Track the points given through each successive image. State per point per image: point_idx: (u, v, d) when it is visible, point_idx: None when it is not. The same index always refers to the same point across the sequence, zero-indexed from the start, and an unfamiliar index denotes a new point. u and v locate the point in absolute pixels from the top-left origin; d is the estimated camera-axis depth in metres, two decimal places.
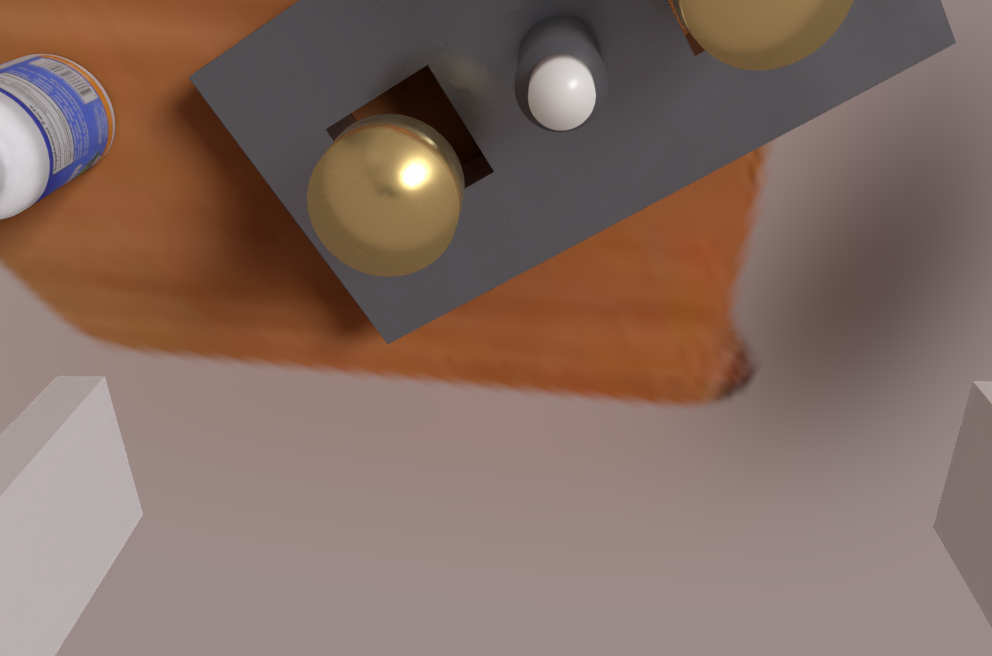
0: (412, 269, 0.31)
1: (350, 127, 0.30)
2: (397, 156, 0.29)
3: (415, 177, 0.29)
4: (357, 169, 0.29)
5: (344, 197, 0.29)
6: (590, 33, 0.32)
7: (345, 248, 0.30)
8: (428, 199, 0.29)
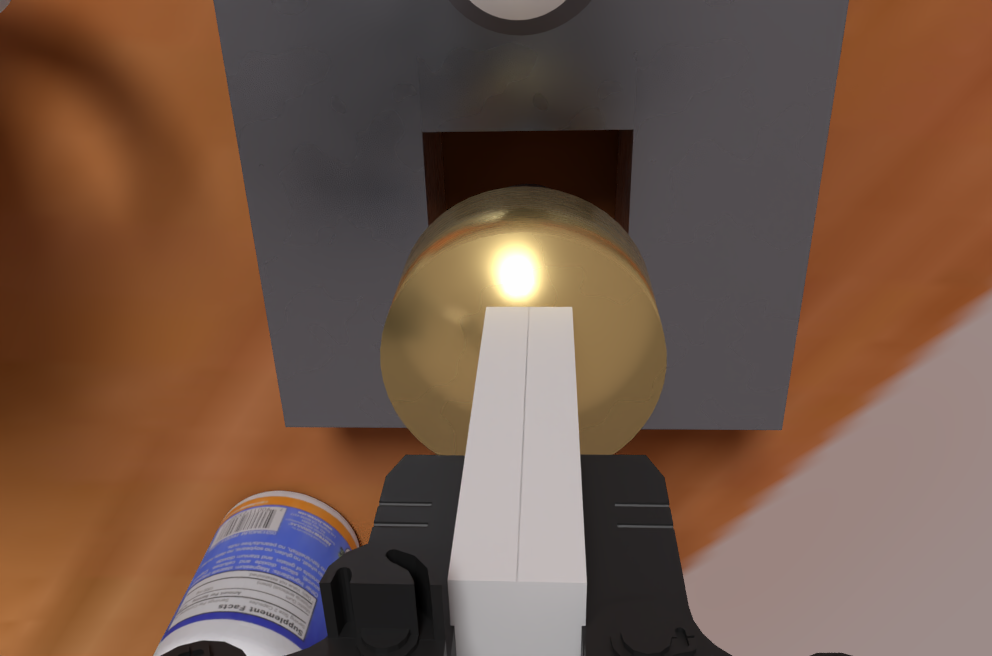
0: (655, 386, 0.16)
1: None
2: (451, 295, 0.15)
3: (503, 288, 0.15)
4: (438, 364, 0.16)
5: None
6: None
7: None
8: (553, 291, 0.15)
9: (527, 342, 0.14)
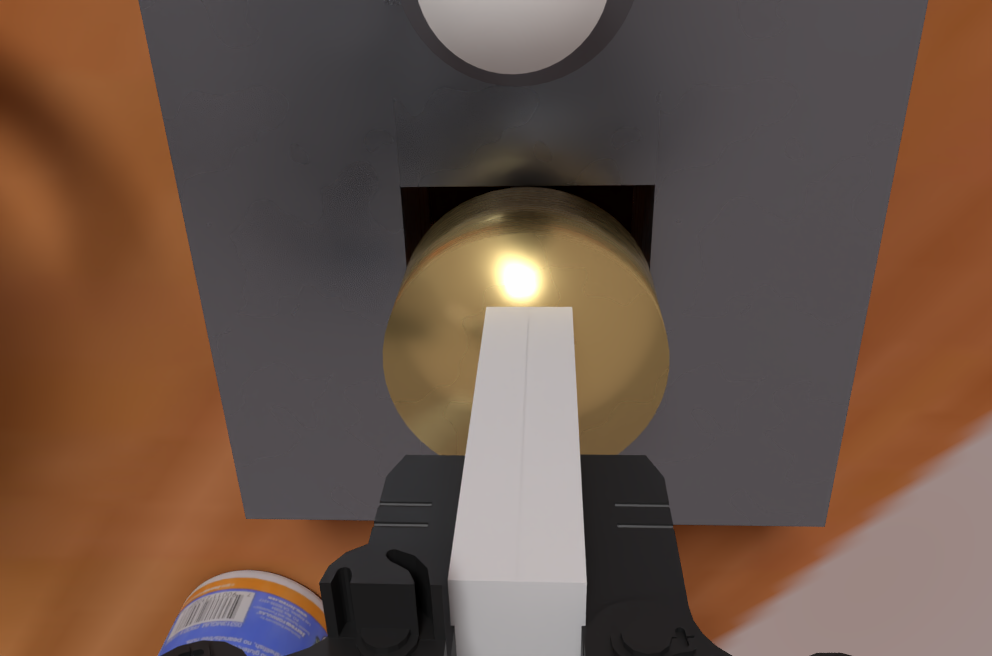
0: (658, 387, 0.16)
1: None
2: (454, 295, 0.15)
3: (505, 289, 0.15)
4: (441, 365, 0.16)
5: None
6: None
7: None
8: (556, 292, 0.15)
9: (527, 342, 0.14)
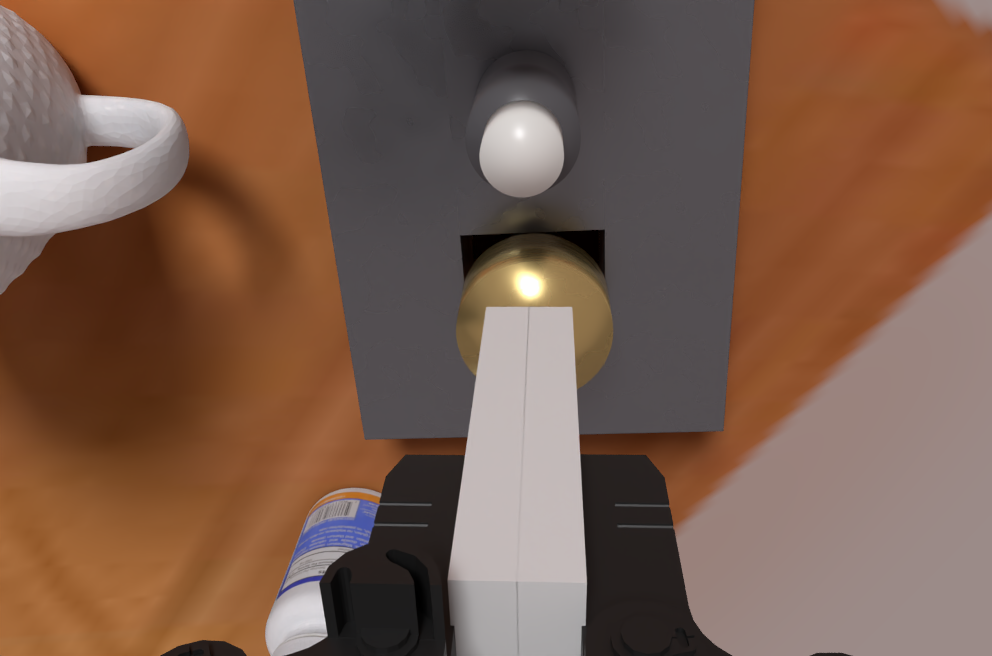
0: (608, 342, 0.29)
1: None
2: (495, 295, 0.28)
3: (522, 291, 0.28)
4: None
5: None
6: (508, 59, 0.26)
7: None
8: (549, 292, 0.28)
9: (527, 342, 0.14)
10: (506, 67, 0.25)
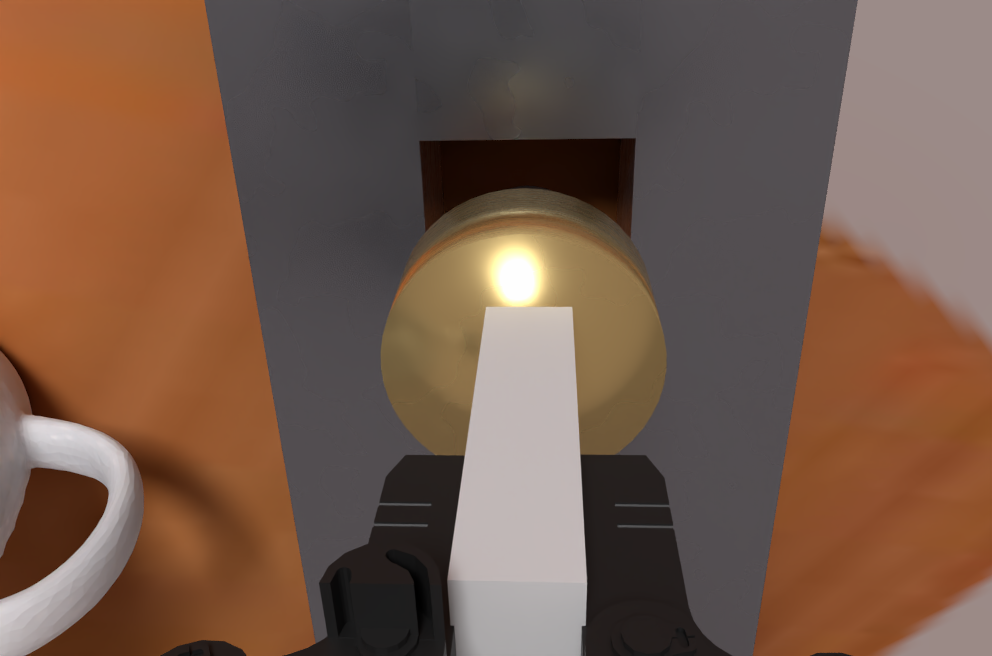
0: None
1: None
2: None
3: None
4: None
5: None
6: None
7: None
8: None
9: (527, 342, 0.14)
10: None
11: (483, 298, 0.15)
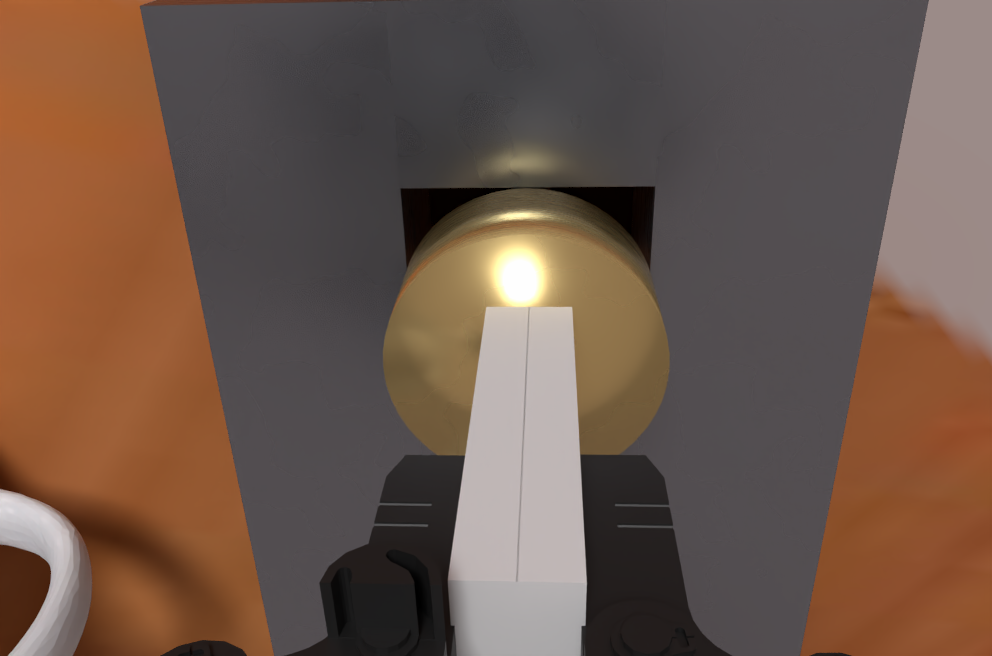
0: None
1: None
2: None
3: None
4: None
5: None
6: None
7: None
8: None
9: (527, 342, 0.14)
10: None
11: (486, 298, 0.15)
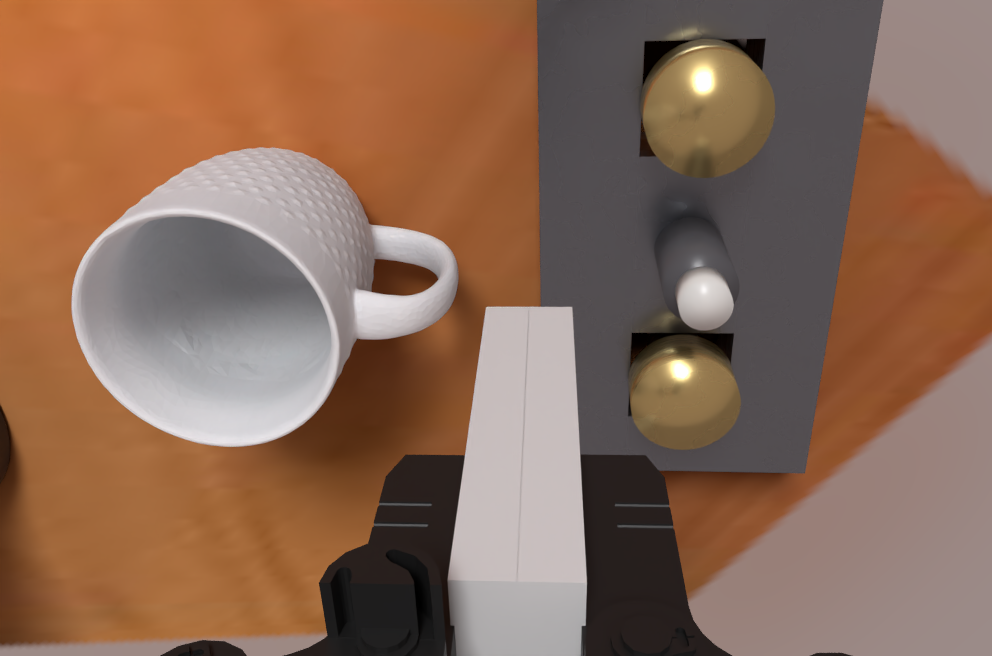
0: (736, 413, 0.42)
1: (629, 384, 0.44)
2: (661, 380, 0.41)
3: (681, 378, 0.41)
4: (653, 404, 0.42)
5: (664, 421, 0.42)
6: (683, 226, 0.39)
7: (694, 440, 0.43)
8: (699, 379, 0.41)
9: (527, 342, 0.14)
10: (686, 236, 0.38)
11: (694, 81, 0.34)
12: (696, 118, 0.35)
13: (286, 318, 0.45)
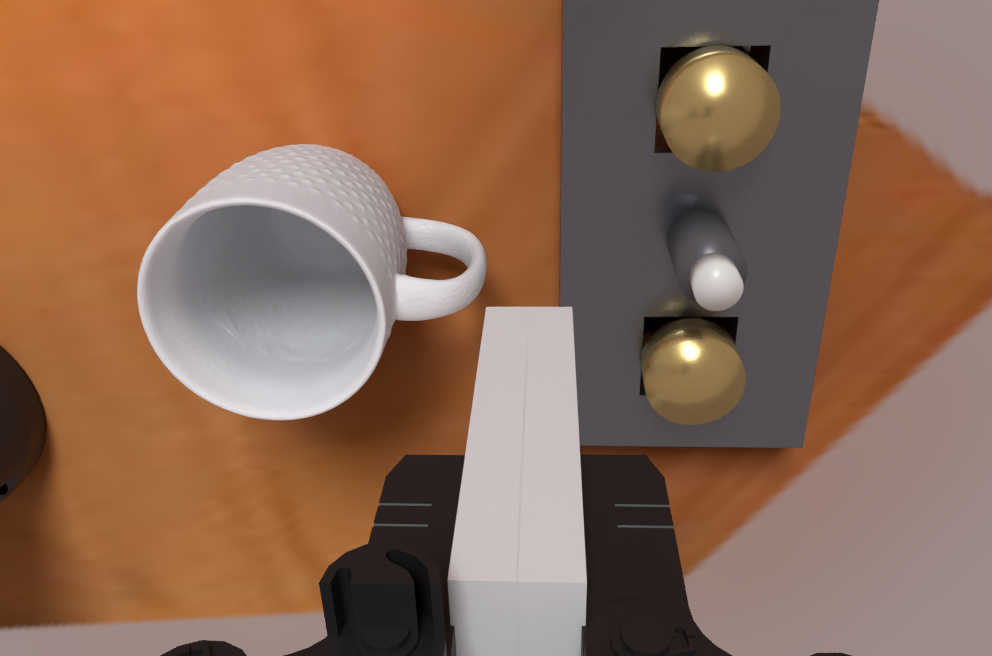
0: (741, 390, 0.45)
1: (641, 364, 0.47)
2: (673, 359, 0.45)
3: (691, 357, 0.44)
4: (665, 382, 0.45)
5: (675, 398, 0.46)
6: (694, 217, 0.43)
7: (703, 415, 0.46)
8: (708, 358, 0.44)
9: (527, 342, 0.14)
10: (698, 226, 0.42)
11: (708, 83, 0.38)
12: (709, 118, 0.39)
13: (320, 304, 0.48)
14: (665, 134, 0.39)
